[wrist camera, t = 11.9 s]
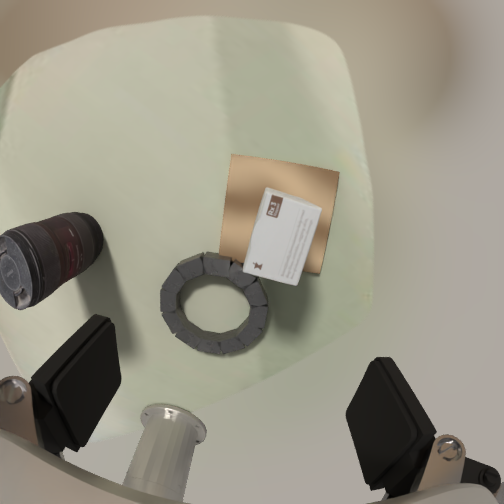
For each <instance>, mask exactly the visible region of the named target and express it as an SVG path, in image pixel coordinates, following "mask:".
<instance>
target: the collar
mask: <svg viewBox="0 0 504 504" xmlns="http://www.w3.org/2000/svg"><path fill="white" fill-rule="evenodd" d="M231 258H232V257H228V256H222V255H219V253H212V252H206V254H205V255H204V253H203V252H202V253H200V254H197V255H195V256H192V257H190V258H187V259H185V260H182V261H181V262H180V263H178V264H177V266H176V267H175V268H174V269H173V271H172V272H171V273H170V275H169V276H168V278H167V279H166V281H165V282H164V284H163V285H162V289H161V290H160V309H161V312H163V313H162V316H163V318H164V320H165V322H166V323H167V325H168V327H169V328H170V330H171V332H172V334H173V333H176V335H175V337H177V338H178V339H180V340H181V341H183V342H184V343H186V344H187V345H189V346H190V347H192V348H193V349H194V348H195V347H196V346H197V345H198V346H197V350H198V351H204V352H210V353H216V354H220V351H222V353H223V354H225V353H229V352H232V351H236V350H239V349H243V348H245V345H246V346H248V345H249V344H250V343H251V342H252V341H253V340H254V339H255V338H256V337H257V336H258V335H259V334H260V333H261V332H262V328H264V326H265V320H266V315H267V310H268V300H267V294H266V292H265V289H264V287H263V285H262V282H261V280H260V278H259V276H256V275H252V274H248V273H244V272H243V266H244V263H241V262H239V261H238V260H237V259H235V260H234V261H232V262H231ZM203 274H209V275H215V276H222V277H226V278H228V279H229V280H230V281H232V282H233V283H234V284H236V285H237V286H239V287H240V288H241V289H243V291H244V293H245V296H246V298H247V300H248V302H249V304H250V311H249V316H248V317H247V319H246V320H245V321H244V322H243V323H242V324H241V325H240V326H239V327H238V328H237V329H234V330H230V331H227V332H224V333H215V332H209V331H203V330H202V329H200V328H199V327H197V326H196V325H194V324H193V323H191V322H190V321H189V320H188V319H187V317H186V315H185V314H184V312H183V310H182V308H181V306H180V289H181V287H182V286H183V285H184V283H185V282H186V281H187V280H190V279H192V278H195V277H198V276H200V275H203Z"/></svg>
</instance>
